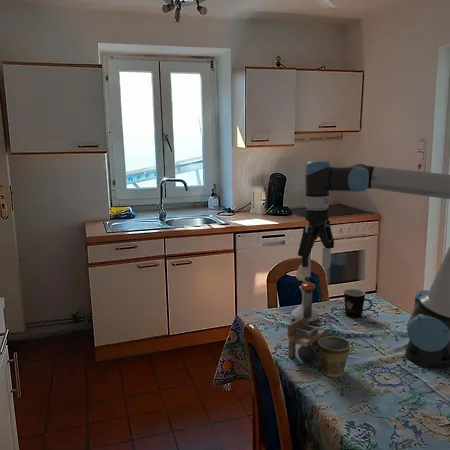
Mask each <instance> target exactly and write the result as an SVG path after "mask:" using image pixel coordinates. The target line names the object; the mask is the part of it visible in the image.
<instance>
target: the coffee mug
mask: <svg viewBox="0 0 450 450" xmlns="http://www.w3.org/2000/svg"><path fill="white" fill-rule="evenodd" d="M343 300H344V310H345V311H344V313H345V316H346V317H347V318H350V319H360V318H362V316H363V312H365V311H368V310H370V309H371V308H372V306H373V302H372V300H371V299H369V298H366V292H365V291H364V290H361V289H356V288H355V289H354V288H348V289H344V291H343ZM365 301H368V302H369V303H370V306H369V307H367V308H364V303H365Z"/></svg>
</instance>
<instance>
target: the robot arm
mask: <svg viewBox="0 0 450 450" xmlns="http://www.w3.org/2000/svg"><path fill="white" fill-rule="evenodd" d="M304 176H305V203H304V204H305V208H306V209H305V220H306V221H307V222H308V225H303V227H302V236H301V240H300V243H299V248H298V252H297V256H299V257H301V265H302V276H307V277H308V278H310V277H312V276H311V275H312V273H311V272H312V270H311V267H312V266H311V265H312V263H311V262H312V260H311V259H312V256H310V255H311V252H312V250H313V247H314V245H315V242H316V240H318V238H319V239H320V241H321V243H322V246H323V247H322V253H321V254H322V259H321V260H322V261H321V262H322V263H321V265H322V267H325V268H326V267H327V268H331V253H332V252H331V250H332V249H333V248H334V247H335V241H334V236H333V232H332V227H331V220H330V210H329V209H328V208H329V207H330V201H331V200H330V192H335V191H336V192H354V193H357V192H366V191H367V190H378V191H385V192H392V193H400V194H406V195H414V196H422V197H428V198H429V197H431V198H437V199H445V200H450V174H449V173H438V172H432V171H431V172H429V171H420V170H411V169H401V168H394V167H392V168H391V167H383V166H372V165H366V164H364V163H357V164H353V165H352V166H348V167H347V166H345V167H344V166H341V167H335V166H331V165H330V161H328V160H311V161H308V162H307V163H306V164H305V175H304ZM307 277H306V278H307ZM406 333H407V336H408V339H409V340H408V342H407V343H406V347H405V354H404V355H405V357H406V359H407V360H409V361H410V362H412V363H414V364H416V365H418V366H420V367H423V368H429V369H436V370H439V369H440V370H441V369H442V370H443V369H444V370H445V369H448V368H450V246H449V247H448V249H447V251H446V254H445V256H444V257H443V260H442V262H441V265H440V267H439V269H438V271H437V273H436V276H435V277H434V279H433V281H432V284H431V285H430V288H429V290H427V289H426V290H418V291H416V293H415V295H414V307H413V309H412V314H411V316H410V319H409V320H408V323H407V326H406Z"/></svg>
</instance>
